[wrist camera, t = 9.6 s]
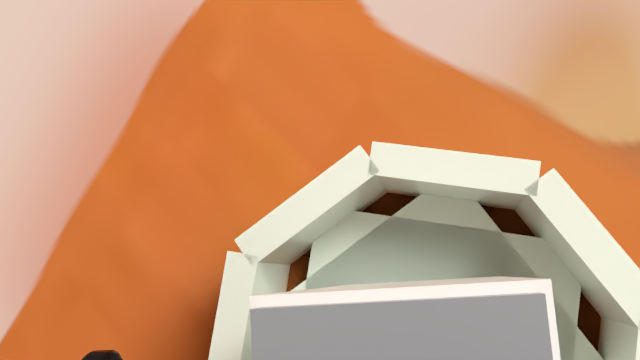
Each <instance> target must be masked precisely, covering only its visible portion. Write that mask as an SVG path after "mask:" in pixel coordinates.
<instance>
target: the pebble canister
mask: <svg viewBox="0 0 640 360" xmlns="http://www.w3.org/2000/svg"><path fill="white" fill-rule="evenodd" d="M249 298H250V323H251V348H252V360H561V357H560V349H559V340H558V332H557V324H556V315H555V307H554V299H553V291H552V282H551V279H543V278H524V277H506V276H492V277H475V278H458V279H440V280H423V281H406V282H389V283H372V284H355V285H342V286H333V287H325V288H316V289H307V290H298V291H290V292H281V293H272V294H263V295H254V296H249Z"/></svg>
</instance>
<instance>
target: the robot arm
mask: <svg viewBox="0 0 640 360" xmlns="http://www.w3.org/2000/svg"><path fill="white" fill-rule="evenodd" d="M82 360H122V358H121V356H120V355H119V353H118V352H116V351H115V350H96V351H92V352H90V353H88V354H87V355H86V356H85V357H84V358H83V359H82Z"/></svg>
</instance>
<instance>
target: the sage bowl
mask: <svg viewBox="0 0 640 360" xmlns="http://www.w3.org/2000/svg"><path fill="white" fill-rule="evenodd" d="M540 164H541V161H535V160H527V159H518V158H510V157H501V156H493V155H484V154H476V153H467V152H459V151H450V150H442V149H433V148H425V147H416V146H408V145H399V144H391V143H382V142H374V141H372V147H371V154H370V157H369V156H368V155H367V153H366V152H365V151H364V149H363V148H362V147H361V146H360V145H359V146H358V147H356V148H355V149H354V150H352V151H351V152H350V153H348V154H347V155H346V156H344V157H343V158H342V159H340V160H339V161H338V162H336V163H335V164H334V165H333V166H331V167H330V168H329V169H327V170H326V171H325V172H323V173H322V174H321V175H319V176H318V177H317V178H315V179H314V180H313V181H311V182H310V183H309V184H307V185H306V186H305V187H303V188H302V189H301V190H299V191H298V192H297V193H295V194H294V195H293V196H292V197H290V198H289V199H288V200H286V201H285V202H284V203H282V204H281V205H280V206H278V207H277V208H276V209H274V210H273V211H272V212H270V213H269V214H268V215H266V216H265V217H264V218H262V219H261V220H260V221H258V222H257V223H256V224H254V225H253V226H252V227H251V228H249V229H248V230H247V231H245V232H244V233H243V234H241V235H240V236H239V237H237V238H236V239H235V242H236V243H237V245H238V246H239V248H240V250H241V251H242V252H235V251H227V257H226V262H225V268H224V273H223V279H222V285H221V290H220V296H219V301H218V307H217V313H216V318H215V324H214V330H213V335H212V341H211V346H210V352H209V358H208V360H252V348H251V323H250V298H249V296H254V295H263V294H272V293H281V292H286V289H287V283H288V277H289V271H290V265H291V264H292V263H293V262H295V261H296V260H297V259H299V258H300V257H301V256H303V255H304V254H305V253H307V252H308V251H309V250H311V254H310V260H309V267H308V273H307V279H306V280H305V281H303V282H302V283H301V284H299V285H298V286H297V287H295V288H294V289H293V290H291V291H298V290H307V289H316V288H325V287H333V286H342V285H355V284H372V283H389V282H406V281H423V280H440V279H458V278H475V277H492V276H506V277H524V278H543V279H551V282H552V291H553V299H554V307H555V315H556V324H557V332H558V340H559V349H560V357H561V360H640V269H639V268H638V267H637V265H636V264H635V263H634V262H633V261H632V260H631V258H630V257H629V256H628V255H627V254H626V252H625V251H624V250H623V249H622V248H621V247H620V245H619V244H618V243H617V242H616V241H615V240H614V238H613V237H612V236H611V235H610V234H609V232H608V231H607V230H606V229H605V228H604V227H603V225H602V224H601V223H600V222H599V221H598V220H597V218H596V217H595V216H594V215H593V214H592V212H591V211H590V210H589V209H588V208H587V207H586V205H585V204H584V203H583V202H582V201H581V200H580V198H579V197H578V196H577V195H576V194H575V192H574V191H573V190H572V189H571V188H570V187H569V185H568V184H567V183H566V182H565V181H564V180H563V178H562V177H561V176H560V175H559V174H558V172H557V171H556V170H555V169H554V168H553V169H552V170H550V171H549V172H547V173H546V174H545V175H543V176H542V177H541V178H539V173H540ZM386 193H395V194H402V195H409V196H417V198H415V199H414V200H413V201H411V202H410V203H408V204H407V205H406V206H404V207H403V208H402V209H400V210H399V211H398V212H396V213H395V214H394V215H392V216H387V215H380V214H373V213H366V212H362V211H363V210H364V209H366V208H367V207H369V206H370V205H371V204H373V203H374V202H375V201H377V200H378V199H379V198H381V197H382V196H383V195H385V194H386ZM481 205H483V206H490V207H498V208H505V209H512V210H515V212H516V213H517V214H518V215H519V217H520V218H521V219H522V220H523V221H524V223H525V224H526V225H527V226H528V228H529V229H530V230H531V231H532V233H533V234H534V235H535V236H536V237H532V236H525V235H518V234H511V233H504V232H502V231H501V230H500V229H499V228H498V226H497V225H496V224H495V223H494V221H493V220H492V219H491V218H490V216H489V215H488V214H487V213H486V211H485V210H484V209H483V208H482V206H481ZM581 293H582V294H583V295H584V297H585V298H586V299H587V300H588V301H589V303H590V304H591V305H592V306H593V308H594V309H595V310H596V311H597V313H598V314H599V315H600V316H601V324H600V333H599V343H598V352H597V351H596V349H595V348H594V347H593V346H592V344H591V343H590V342H589V341H588V339H587V338H586V337H585V336H584V334H583V333H582V332H581V331H580V329H579V328H578V327H577V321H578V312H579V303H580V294H581Z"/></svg>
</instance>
